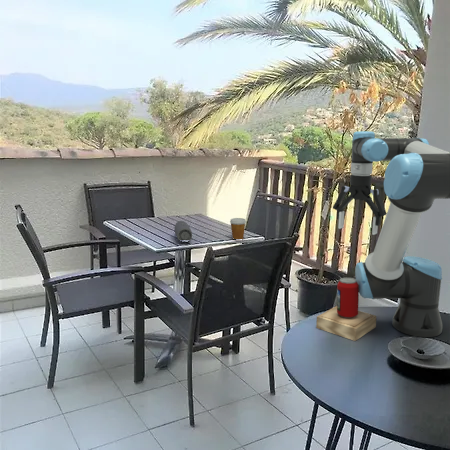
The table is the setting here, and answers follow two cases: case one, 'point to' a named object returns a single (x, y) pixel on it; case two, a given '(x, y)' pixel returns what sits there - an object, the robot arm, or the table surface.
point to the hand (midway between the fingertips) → (357, 231)
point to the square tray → (346, 324)
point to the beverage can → (347, 297)
